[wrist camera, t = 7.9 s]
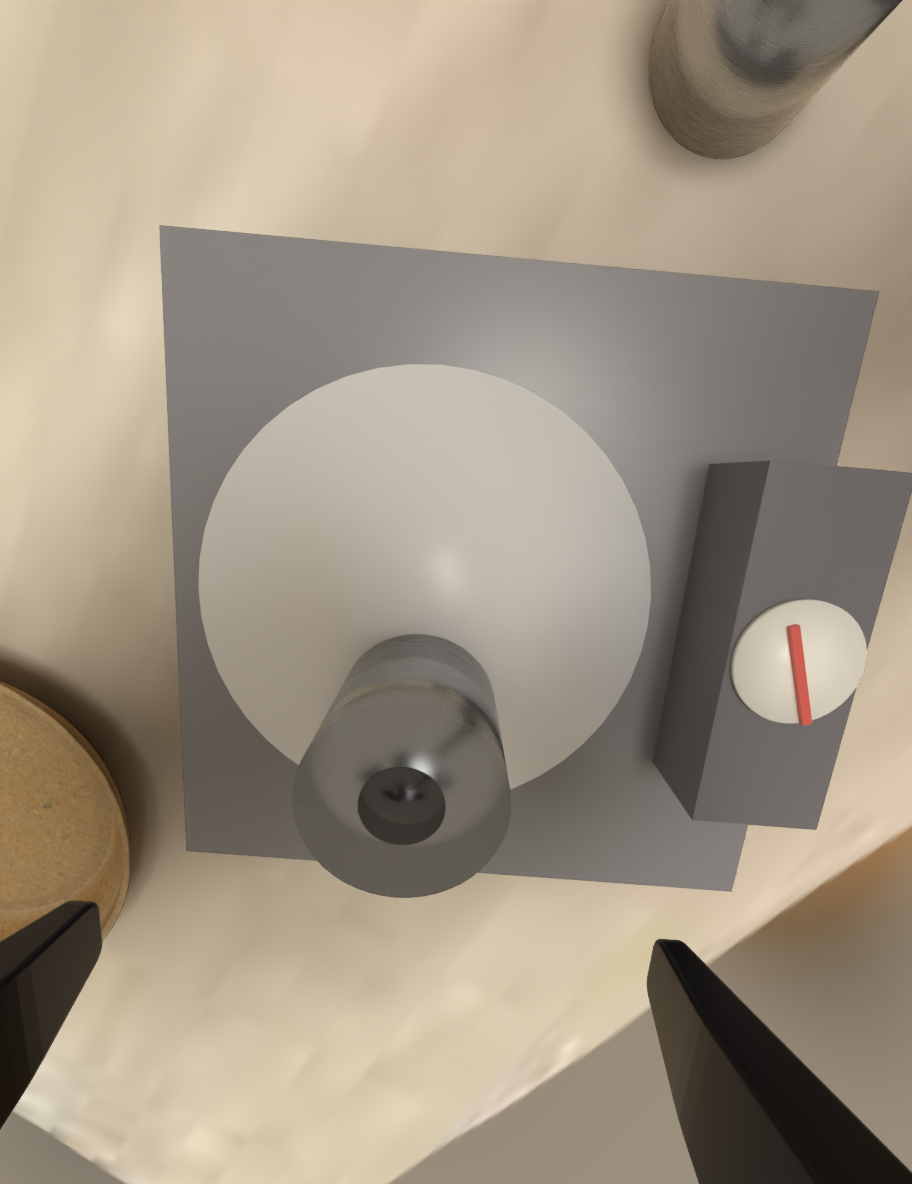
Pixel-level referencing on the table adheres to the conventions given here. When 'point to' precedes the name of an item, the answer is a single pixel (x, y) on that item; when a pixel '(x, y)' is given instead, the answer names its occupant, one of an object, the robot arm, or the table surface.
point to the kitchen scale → (523, 534)
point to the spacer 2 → (749, 65)
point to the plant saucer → (56, 818)
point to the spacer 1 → (406, 772)
